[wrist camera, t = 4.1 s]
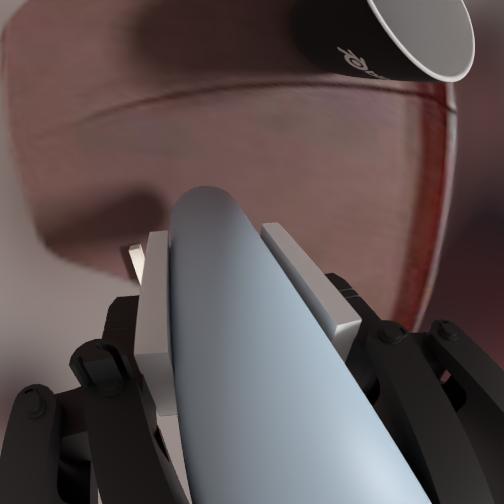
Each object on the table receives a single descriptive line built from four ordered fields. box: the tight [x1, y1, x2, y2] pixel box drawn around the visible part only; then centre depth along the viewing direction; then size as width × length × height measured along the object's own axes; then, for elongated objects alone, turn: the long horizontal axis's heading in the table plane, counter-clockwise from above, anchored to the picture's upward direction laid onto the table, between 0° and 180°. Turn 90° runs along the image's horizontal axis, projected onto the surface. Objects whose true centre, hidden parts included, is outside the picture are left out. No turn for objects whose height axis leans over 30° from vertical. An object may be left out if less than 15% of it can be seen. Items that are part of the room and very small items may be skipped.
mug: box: [291, 0, 475, 83], centre depth 11 cm, size 12×9×10 cm
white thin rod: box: [129, 244, 145, 285], centre depth 23 cm, size 18×1×1 cm, turn 6°
